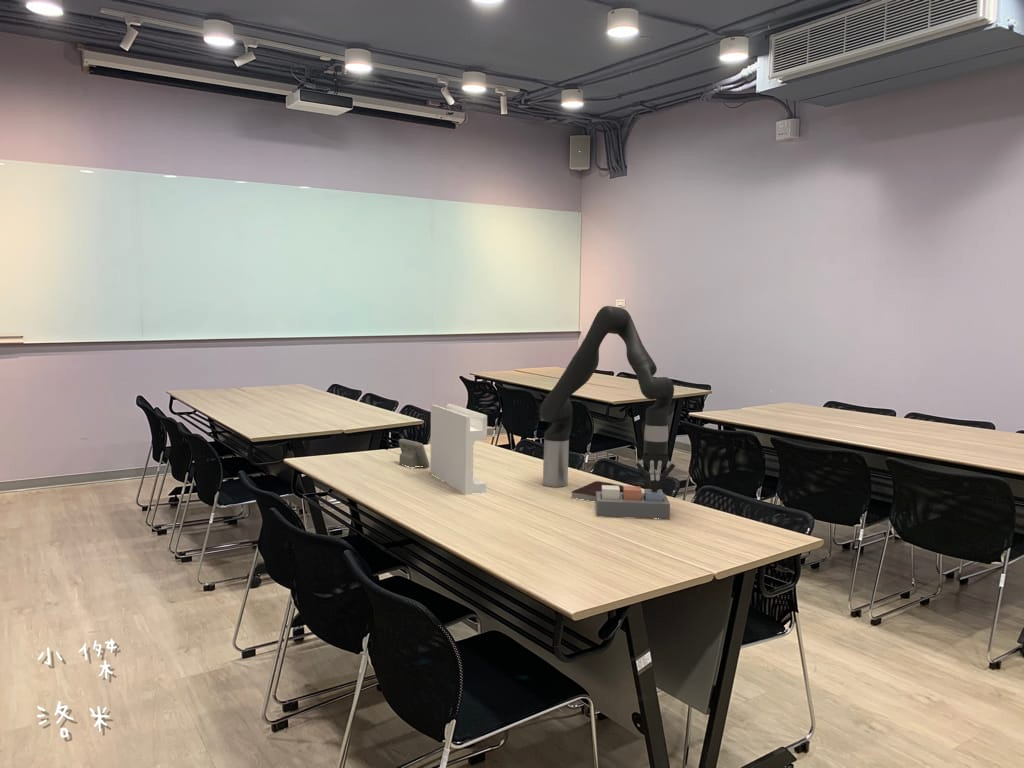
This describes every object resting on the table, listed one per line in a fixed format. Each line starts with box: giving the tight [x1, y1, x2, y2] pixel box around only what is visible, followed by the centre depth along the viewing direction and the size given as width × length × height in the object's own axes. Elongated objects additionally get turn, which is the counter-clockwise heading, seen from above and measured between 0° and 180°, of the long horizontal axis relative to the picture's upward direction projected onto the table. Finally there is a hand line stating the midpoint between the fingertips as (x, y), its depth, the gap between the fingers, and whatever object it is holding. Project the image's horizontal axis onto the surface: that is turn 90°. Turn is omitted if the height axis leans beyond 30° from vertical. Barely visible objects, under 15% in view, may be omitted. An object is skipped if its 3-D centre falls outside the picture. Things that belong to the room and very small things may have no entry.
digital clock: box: [398, 438, 430, 468], centre depth 306 cm, size 16×9×11 cm, turn 32°
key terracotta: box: [622, 485, 643, 500], centre depth 240 cm, size 6×6×4 cm
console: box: [595, 491, 671, 520], centre depth 240 cm, size 23×13×5 cm, turn 85°
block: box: [429, 403, 488, 495], centre depth 275 cm, size 35×8×28 cm, turn 27°
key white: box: [601, 485, 620, 500], centre depth 240 cm, size 6×6×4 cm
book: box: [570, 480, 624, 503], centre depth 262 cm, size 12×19×3 cm, turn 146°
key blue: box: [643, 488, 665, 501], centre depth 239 cm, size 6×6×4 cm
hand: (654, 491), depth 239 cm, fingers closed
